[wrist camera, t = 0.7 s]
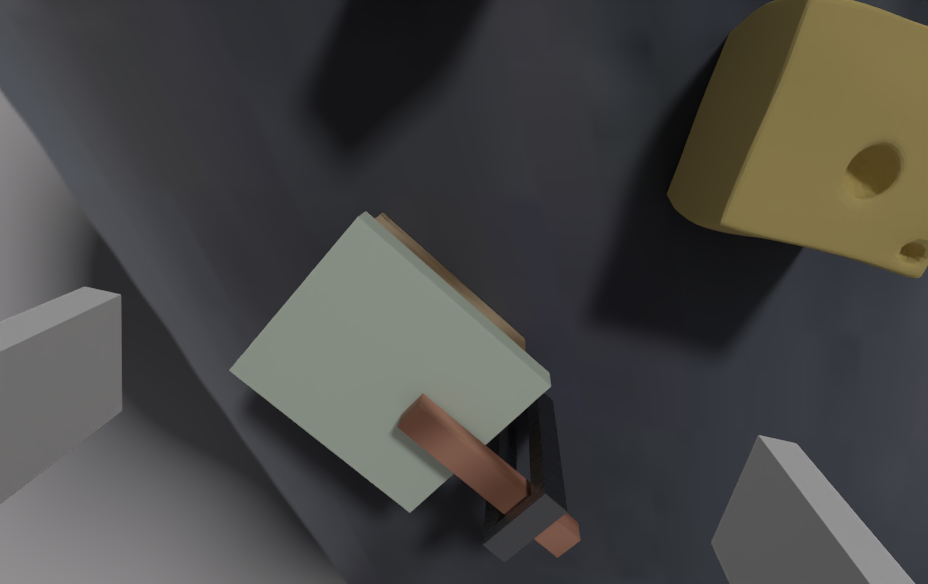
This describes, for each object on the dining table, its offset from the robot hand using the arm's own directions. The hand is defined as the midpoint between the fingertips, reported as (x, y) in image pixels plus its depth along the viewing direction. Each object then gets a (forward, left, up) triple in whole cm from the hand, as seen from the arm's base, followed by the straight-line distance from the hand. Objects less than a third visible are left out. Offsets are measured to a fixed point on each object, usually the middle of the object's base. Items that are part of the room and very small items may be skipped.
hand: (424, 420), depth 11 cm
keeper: (+12, -9, -26) cm, 30 cm away
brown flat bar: (+10, -9, -17) cm, 22 cm away
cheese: (+10, +15, -26) cm, 31 cm away
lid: (+2, -9, -20) cm, 22 cm away
